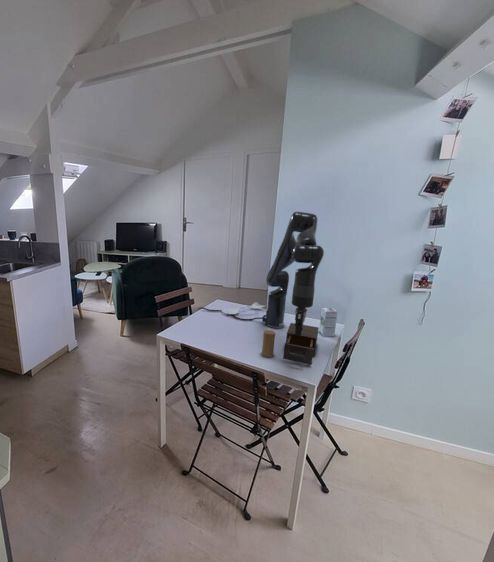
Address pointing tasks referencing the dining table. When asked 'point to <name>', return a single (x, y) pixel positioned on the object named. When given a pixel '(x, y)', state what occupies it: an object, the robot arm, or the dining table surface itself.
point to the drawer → (299, 349)
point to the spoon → (235, 311)
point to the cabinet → (305, 334)
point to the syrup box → (328, 321)
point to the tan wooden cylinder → (268, 343)
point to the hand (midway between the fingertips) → (298, 332)
